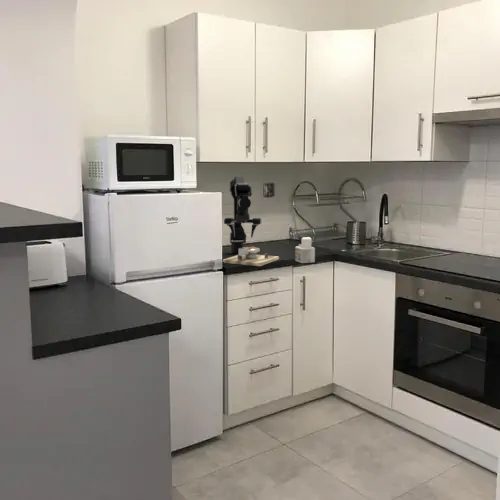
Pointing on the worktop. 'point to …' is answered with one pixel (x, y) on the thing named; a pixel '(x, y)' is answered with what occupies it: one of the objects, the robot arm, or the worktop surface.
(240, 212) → the robot arm
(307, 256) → the container
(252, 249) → the grey piece
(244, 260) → the base plate
